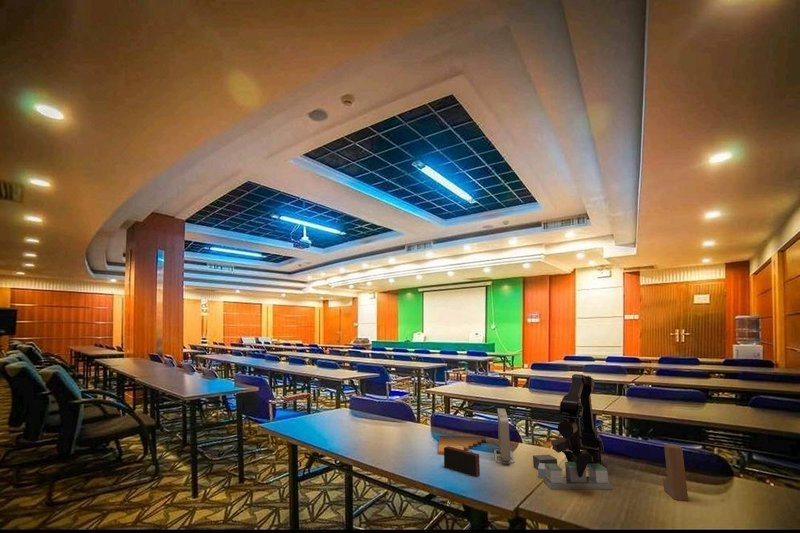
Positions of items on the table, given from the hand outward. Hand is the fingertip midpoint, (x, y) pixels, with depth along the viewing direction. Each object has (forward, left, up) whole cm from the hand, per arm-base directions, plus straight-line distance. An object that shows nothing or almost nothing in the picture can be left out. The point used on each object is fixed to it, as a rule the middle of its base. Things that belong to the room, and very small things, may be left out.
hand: (575, 473), depth 150 cm
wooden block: (-32, +9, -5) cm, 34 cm away
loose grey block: (+6, -18, -5) cm, 19 cm away
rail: (0, 0, -4) cm, 4 cm away
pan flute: (+37, -48, -5) cm, 61 cm away
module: (0, 0, -2) cm, 2 cm away
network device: (+20, -34, -5) cm, 39 cm away
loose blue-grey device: (+9, -10, -5) cm, 14 cm away
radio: (+44, -16, -5) cm, 47 cm away
